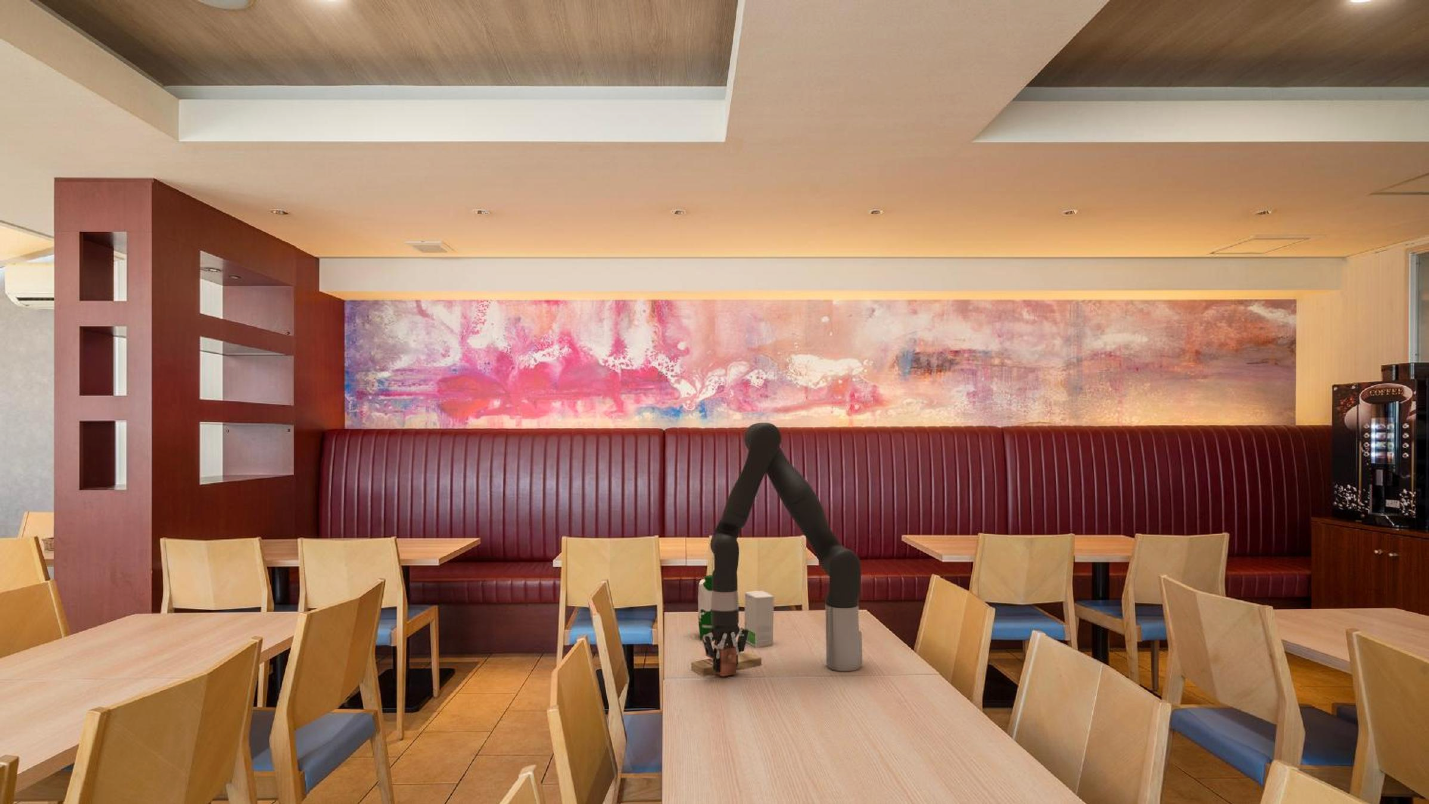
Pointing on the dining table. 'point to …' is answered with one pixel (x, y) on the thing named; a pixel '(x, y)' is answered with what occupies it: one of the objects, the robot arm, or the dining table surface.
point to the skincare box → (759, 618)
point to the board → (743, 662)
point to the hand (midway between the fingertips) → (725, 669)
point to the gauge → (727, 661)
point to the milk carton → (705, 605)
